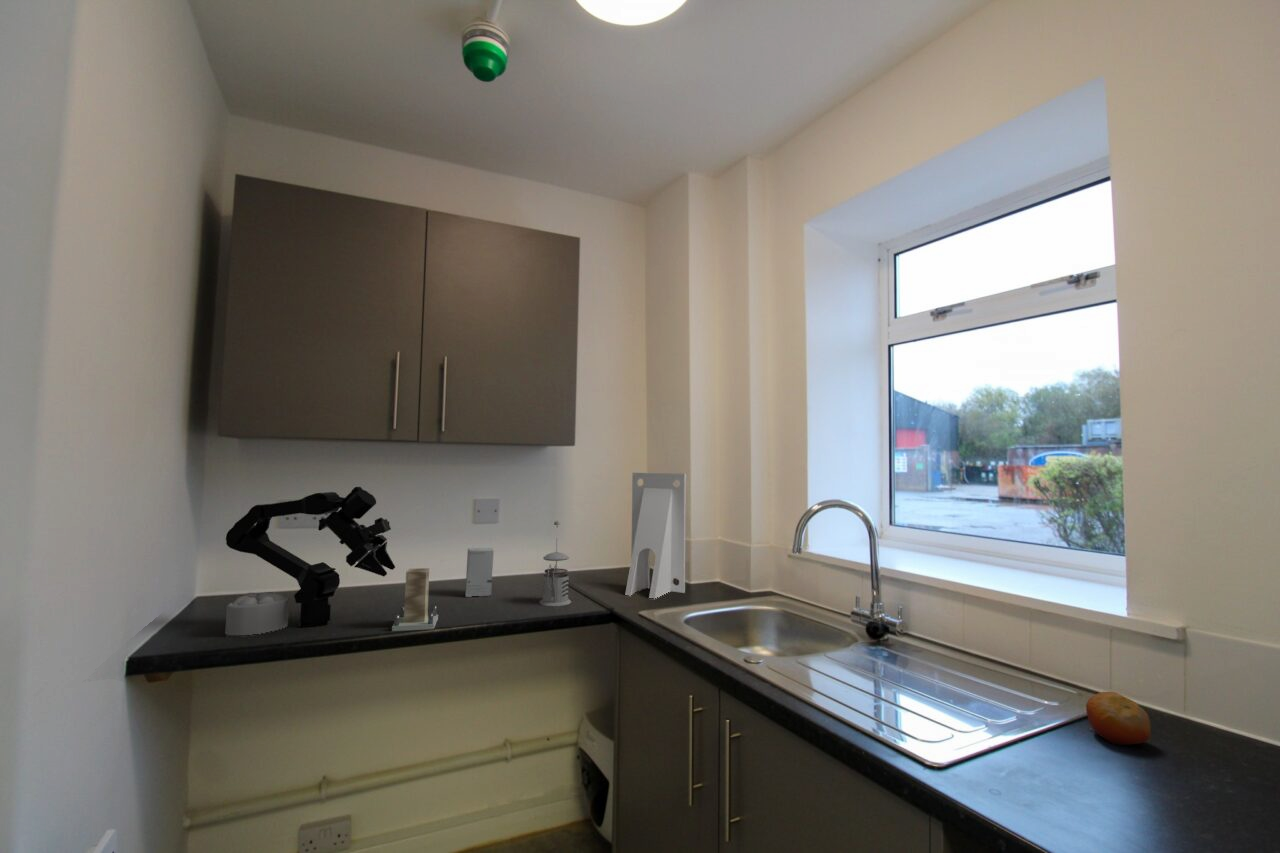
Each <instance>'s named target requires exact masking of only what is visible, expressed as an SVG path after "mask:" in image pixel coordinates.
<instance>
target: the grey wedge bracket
mask: <svg viewBox="0 0 1280 853" xmlns="http://www.w3.org/2000/svg"><path fill="white" fill-rule="evenodd" d="M631 476H632V486H631V487H632V489H631V490H632V492H631V494H632V495H631V497H632V498H631V555H630V557H631V559H630V560H631V561H630V566H629V572H628V577H627V581H626V582H627V583H626V588H625V593H624V594H625V595H629V596H628V597H632V596H631V595H633V594H636V593H638V592H641V591H643V590H645V589H647V588H648V589H650V590H649V595H648V599H649V598H654V599H653V600H656V599H658V598H660V596H661V597H662V595H663V596H665V595H667V594H669V593H670V592H672V593H673V592H674V593H681V594H682V593H683V594H685V593H686V512H687V510H686V509H687V508H686V503H687V498H686V497H687V496H686V495H687V493H686V490H687V488H686V487H687V485H686V484H687V483H686V482H687V481H686V480H687V474H686V473H671V472H670V473H668V472H632V475H631ZM640 479H641V480H642V485H640V484H639V480H640ZM676 480H677V481H679V486H676V485H675V482H676ZM651 550H652V552H653V554H654V558H655V560H654V564H653V565H654V566H653V570H652V571H653V572H652V576H651V582H650V573H651V572H650V568H651V566H650V565H651V564H650V559H651V558H650V556H651V555H650V554H651ZM674 579H677V580H678V584H675V583H674V581H675V580H674ZM642 589H643V590H642ZM637 591H638V592H637ZM635 592H636V593H635ZM668 592H669V593H668ZM666 593H667V594H666ZM664 594H665V595H664ZM625 595H624V596H625ZM657 597H658V598H657ZM655 598H656V599H655Z"/></svg>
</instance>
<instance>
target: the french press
mask: <svg viewBox="0 0 1280 853" xmlns="http://www.w3.org/2000/svg"><path fill="white" fill-rule="evenodd" d="M553 525H555V526H556V527H558V526H560V525H561V522H560V521H559V520H555V521H554V524H553ZM555 544H556V548H555V551H553V552H550V553H548V554H547V553H546V554H545V555H544V556H543V560H545V561H549V562H555V564H554V567H552V564H551V563H550V564H549V566H548V568H546V569H545V570H544V573H545V574H543V578H542V579H543V581H542V584H543V585H542V588H543V589H542V599H540V600H539V604H540V605H542V606H549V607H561V606H567V605H570V604H571V603H572V601H571V599H569V580H570V579H569V577H570V576H569V574H568V573H567V572H568V569H566V568H558V567H557V566H558V563H557V562H559V561H560V562H562V561H566V560H567V561H568V560H569V559H570V556H569V555H568V554H566V553H562V552H559V551H558V539H556V543H555Z"/></svg>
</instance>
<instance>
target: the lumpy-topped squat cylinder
mask: <svg viewBox="0 0 1280 853" xmlns="http://www.w3.org/2000/svg"><path fill="white" fill-rule="evenodd" d="M289 604H290V598H289V597H287V596H284V595H283V594H281V593H278V592H277V593H275V592H272V591H268V592H266V591H265V592H263V593H260V594H256V593H255V592H248V593H246V594H245V595H243V596H239V597H237V598H236V599H235V600H234V601H232V602H229V603H228V604H227V606H226V612H225V630H224V635H225V634H228V635H251V636H253V635H252V634H259V635H262V634H261V633H263V634H267V633H266V632H268V633H271V632H270V631H272V632H275V630H276V631H279V629H280V630H283V629H285V627H286V628H287V627H288V625H289V609H290V608H289V606H290V605H289ZM282 628H283V629H282Z"/></svg>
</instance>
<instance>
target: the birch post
mask: <svg viewBox="0 0 1280 853" xmlns="http://www.w3.org/2000/svg"><path fill="white" fill-rule="evenodd" d="M429 582H430V568H429V567H426V568H425V567H424V568H421V567H420V568H419V567H418V568H409V569H408V570H406V572H405V587H404V588H405V589H404V590H405V592H404V607H405V612H404V623H417V622H425V620H426V619H427V616H428V614H429V611H428V609H429V588H430V587H429V586H430V584H429Z"/></svg>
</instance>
